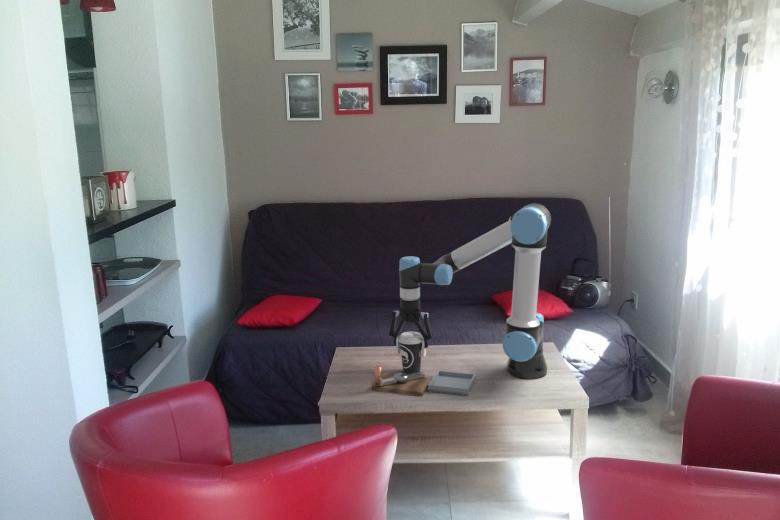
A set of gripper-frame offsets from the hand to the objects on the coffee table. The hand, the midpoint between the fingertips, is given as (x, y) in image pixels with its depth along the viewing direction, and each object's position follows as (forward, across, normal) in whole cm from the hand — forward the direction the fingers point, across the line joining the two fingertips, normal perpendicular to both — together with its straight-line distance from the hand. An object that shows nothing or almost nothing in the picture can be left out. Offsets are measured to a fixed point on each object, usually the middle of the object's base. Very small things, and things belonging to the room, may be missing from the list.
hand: (411, 354), depth 241 cm
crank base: (+7, 0, +14) cm, 15 cm away
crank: (+6, 0, +13) cm, 14 cm away
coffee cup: (+7, 0, 0) cm, 7 cm away
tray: (+7, -18, +8) cm, 21 cm away
